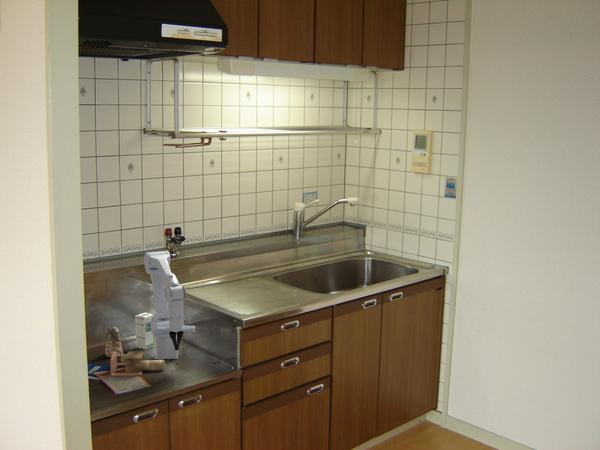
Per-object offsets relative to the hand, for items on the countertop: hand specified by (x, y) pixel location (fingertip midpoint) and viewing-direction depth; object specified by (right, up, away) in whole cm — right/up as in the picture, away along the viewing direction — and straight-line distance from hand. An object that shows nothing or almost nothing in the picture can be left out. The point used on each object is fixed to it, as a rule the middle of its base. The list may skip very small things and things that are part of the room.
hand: (176, 349), depth 278 cm
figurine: (-29, -5, +17) cm, 34 cm away
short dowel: (-20, -6, +7) cm, 22 cm away
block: (-16, -8, -1) cm, 18 cm away
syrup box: (-18, -4, +27) cm, 33 cm away
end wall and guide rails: (-18, -8, -1) cm, 20 cm away
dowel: (-11, -8, 0) cm, 13 cm away
